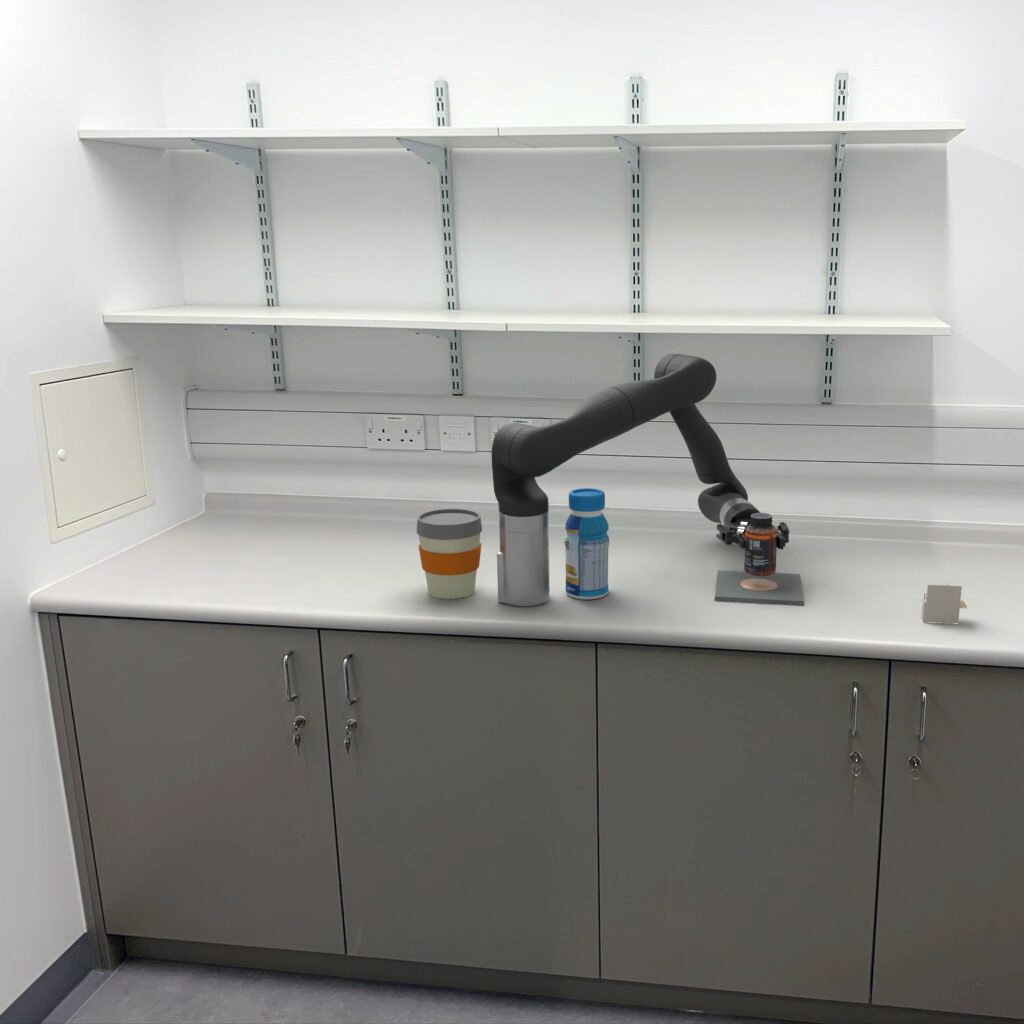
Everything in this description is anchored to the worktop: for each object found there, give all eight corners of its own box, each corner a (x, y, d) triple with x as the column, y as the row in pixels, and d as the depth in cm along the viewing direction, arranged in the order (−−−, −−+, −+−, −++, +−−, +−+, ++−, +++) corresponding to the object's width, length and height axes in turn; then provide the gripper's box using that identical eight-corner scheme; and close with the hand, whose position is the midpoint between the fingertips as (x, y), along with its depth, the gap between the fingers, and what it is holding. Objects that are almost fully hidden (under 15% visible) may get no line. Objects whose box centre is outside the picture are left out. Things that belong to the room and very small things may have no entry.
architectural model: (919, 618, 186) (922, 578, 184) (961, 620, 184) (964, 580, 182) (923, 625, 182) (926, 584, 180) (965, 627, 181) (969, 586, 179)
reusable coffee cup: (407, 597, 200) (403, 521, 196) (438, 578, 211) (435, 506, 207) (466, 605, 195) (463, 528, 191) (494, 585, 206) (492, 511, 202)
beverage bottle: (599, 603, 195) (599, 499, 190) (557, 597, 199) (556, 494, 194) (615, 589, 202) (616, 488, 197) (575, 584, 206) (574, 485, 201)
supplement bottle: (770, 566, 203) (773, 510, 200) (779, 576, 198) (782, 519, 195) (740, 567, 203) (742, 511, 200) (747, 577, 197) (750, 519, 194)
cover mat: (714, 600, 195) (714, 595, 195) (717, 573, 210) (717, 569, 210) (803, 605, 192) (803, 600, 192) (800, 577, 207) (800, 573, 207)
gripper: (707, 503, 211) (727, 526, 195) (777, 501, 212) (803, 524, 196) (706, 539, 213) (725, 565, 197) (776, 536, 214) (801, 562, 198)
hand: (764, 544), depth 196 cm, fingers closed on supplement bottle, 6 cm apart
